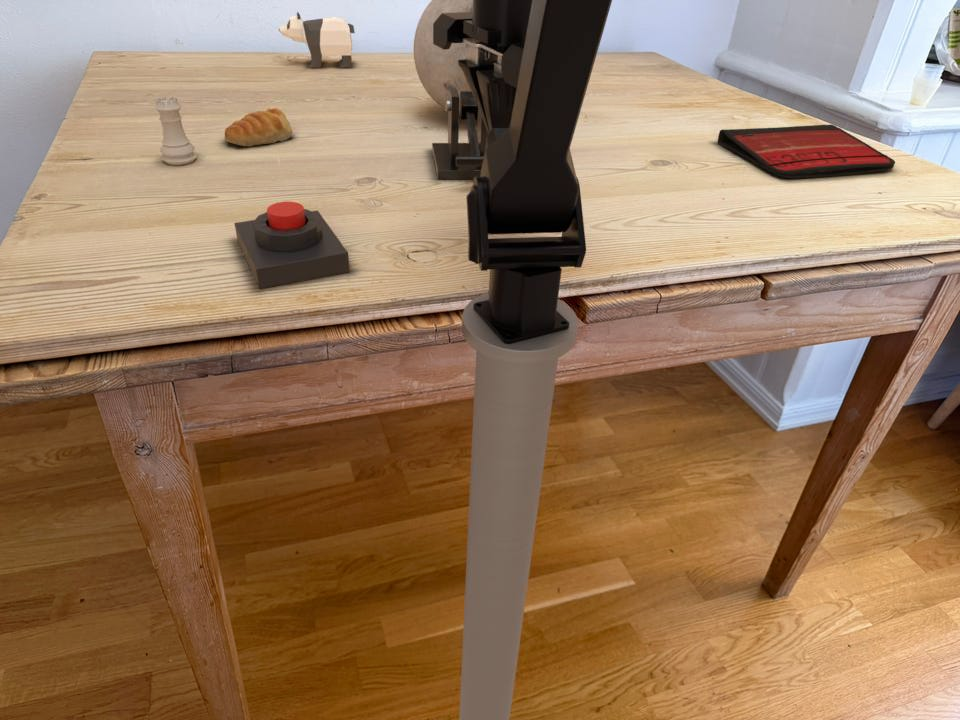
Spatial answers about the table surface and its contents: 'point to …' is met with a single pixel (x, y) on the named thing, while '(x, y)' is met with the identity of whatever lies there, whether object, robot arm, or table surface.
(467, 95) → the lever
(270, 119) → the pastry
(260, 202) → the table surface
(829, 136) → the binder
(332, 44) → the giant panda
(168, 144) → the rook chess piece
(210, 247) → the table surface
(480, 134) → the bracket
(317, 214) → the button box
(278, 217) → the button
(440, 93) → the moon model
